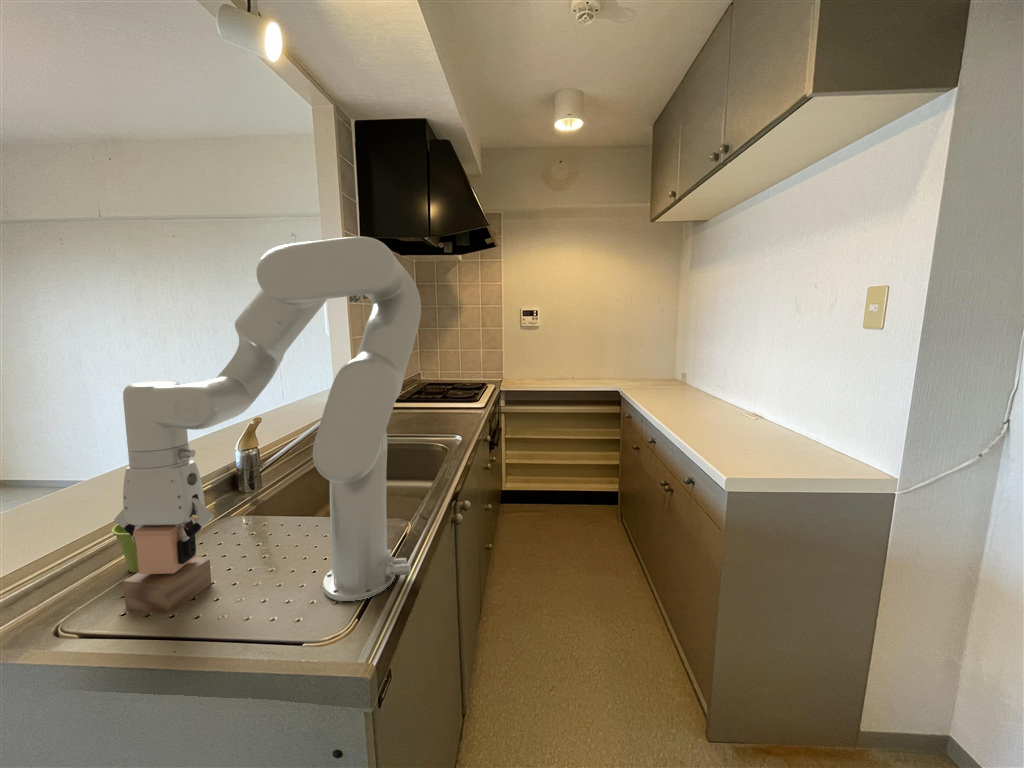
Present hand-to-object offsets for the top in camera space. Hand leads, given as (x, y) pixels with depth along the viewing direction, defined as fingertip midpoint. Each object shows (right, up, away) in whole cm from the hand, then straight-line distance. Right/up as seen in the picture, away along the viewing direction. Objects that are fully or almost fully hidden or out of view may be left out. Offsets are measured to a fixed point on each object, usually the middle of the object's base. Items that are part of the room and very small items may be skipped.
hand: (168, 559), depth 69 cm
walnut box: (0, -7, +1) cm, 7 cm away
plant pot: (-12, -5, +10) cm, 16 cm away
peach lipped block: (0, -1, 0) cm, 1 cm away
